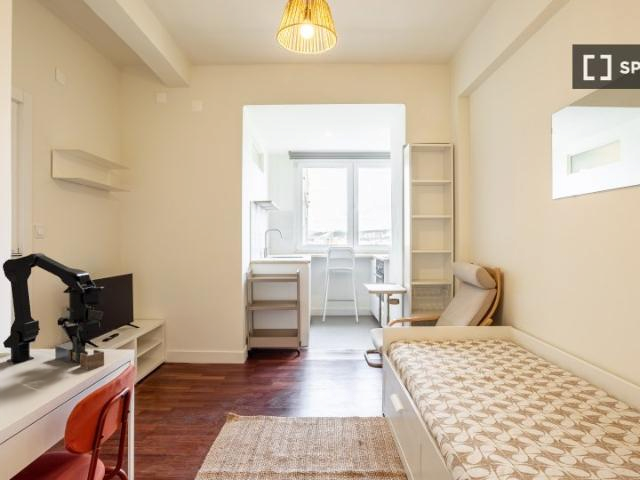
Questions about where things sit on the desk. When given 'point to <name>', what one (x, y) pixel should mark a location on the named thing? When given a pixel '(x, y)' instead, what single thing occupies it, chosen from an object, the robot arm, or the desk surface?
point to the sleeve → (64, 352)
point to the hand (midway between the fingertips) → (78, 345)
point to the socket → (92, 360)
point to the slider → (77, 349)
